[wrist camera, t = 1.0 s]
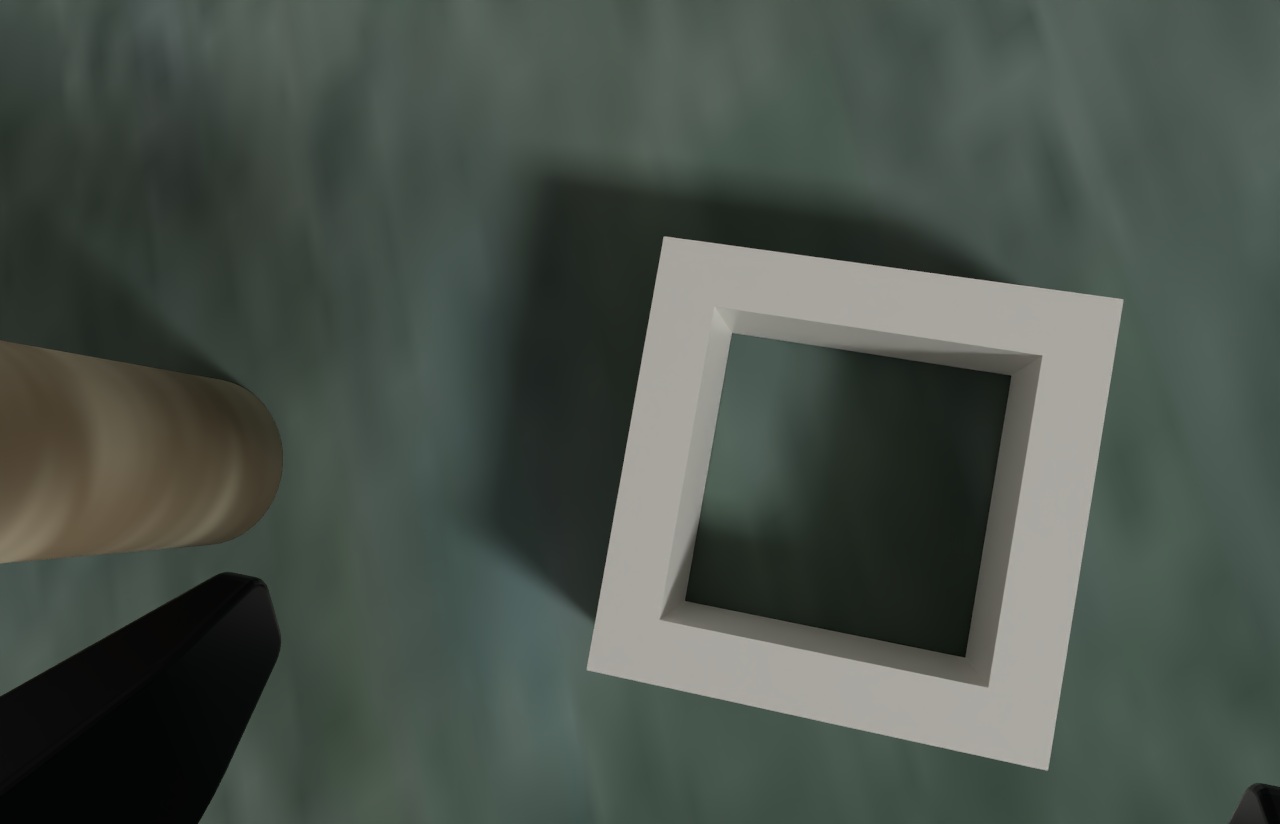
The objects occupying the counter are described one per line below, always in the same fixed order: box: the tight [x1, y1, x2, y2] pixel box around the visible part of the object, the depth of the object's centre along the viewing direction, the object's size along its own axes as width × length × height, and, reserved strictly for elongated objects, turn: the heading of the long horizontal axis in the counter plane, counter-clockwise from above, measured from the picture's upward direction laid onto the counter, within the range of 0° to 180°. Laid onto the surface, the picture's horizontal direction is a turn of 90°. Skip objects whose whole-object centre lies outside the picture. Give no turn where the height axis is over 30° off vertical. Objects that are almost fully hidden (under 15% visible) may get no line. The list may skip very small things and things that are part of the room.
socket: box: [587, 236, 1123, 771], centre depth 22 cm, size 8×8×4 cm
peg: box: [0, 340, 283, 563], centre depth 20 cm, size 4×4×13 cm
